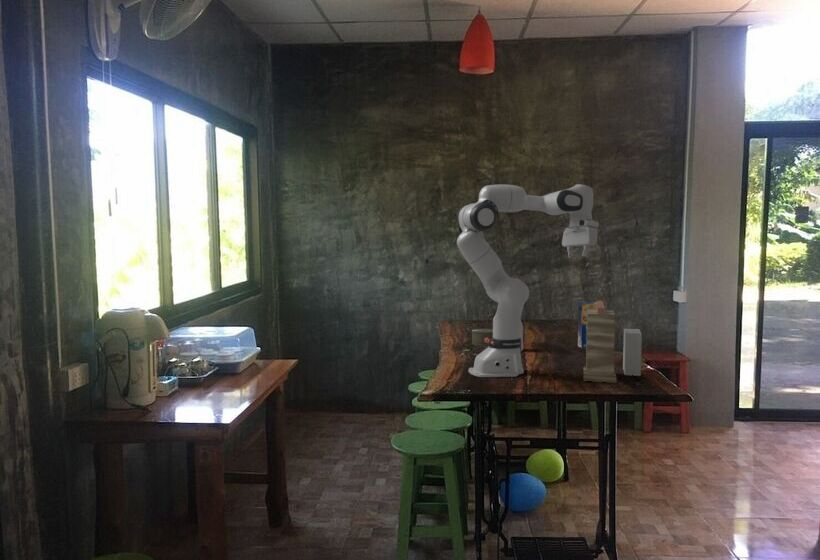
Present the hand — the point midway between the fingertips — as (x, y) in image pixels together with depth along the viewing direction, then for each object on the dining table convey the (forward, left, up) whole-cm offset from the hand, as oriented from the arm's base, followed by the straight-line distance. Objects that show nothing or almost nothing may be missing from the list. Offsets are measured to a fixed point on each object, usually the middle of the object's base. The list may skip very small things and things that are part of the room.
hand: (577, 256), depth 265 cm
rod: (+3, -13, -21) cm, 25 cm away
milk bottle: (-9, +43, -47) cm, 64 cm away
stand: (+1, -17, -47) cm, 50 cm away
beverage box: (+31, +41, -47) cm, 70 cm away
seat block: (+18, -13, -47) cm, 52 cm away
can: (-17, +65, -47) cm, 82 cm away
